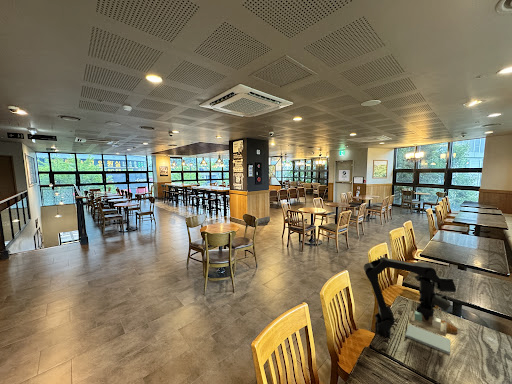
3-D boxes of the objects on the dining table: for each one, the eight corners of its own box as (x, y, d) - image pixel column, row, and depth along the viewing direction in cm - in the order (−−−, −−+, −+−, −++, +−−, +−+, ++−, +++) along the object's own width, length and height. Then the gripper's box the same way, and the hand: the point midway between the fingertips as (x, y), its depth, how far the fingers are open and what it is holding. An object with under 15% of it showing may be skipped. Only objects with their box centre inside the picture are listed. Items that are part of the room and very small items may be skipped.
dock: (405, 339, 109) (405, 334, 109) (408, 328, 116) (408, 324, 116) (449, 357, 97) (449, 352, 97) (450, 344, 104) (450, 339, 104)
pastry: (456, 329, 114) (457, 322, 114) (457, 336, 109) (458, 329, 109) (434, 322, 120) (434, 315, 120) (434, 328, 115) (434, 322, 115)
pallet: (409, 323, 107) (409, 310, 107) (411, 316, 112) (411, 303, 112) (445, 336, 98) (445, 322, 97) (446, 328, 102) (446, 315, 102)
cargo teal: (414, 318, 107) (414, 313, 107) (415, 316, 110) (415, 310, 109) (422, 321, 105) (422, 315, 105) (422, 318, 107) (422, 313, 107)
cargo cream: (432, 325, 102) (432, 319, 102) (432, 322, 104) (432, 316, 104) (440, 328, 100) (440, 322, 100) (440, 325, 102) (440, 319, 102)
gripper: (447, 304, 92) (447, 337, 93) (450, 287, 105) (450, 316, 106) (416, 295, 99) (416, 326, 100) (422, 280, 113) (422, 307, 114)
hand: (427, 319), depth 105 cm, fingers closed on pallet, 2 cm apart
